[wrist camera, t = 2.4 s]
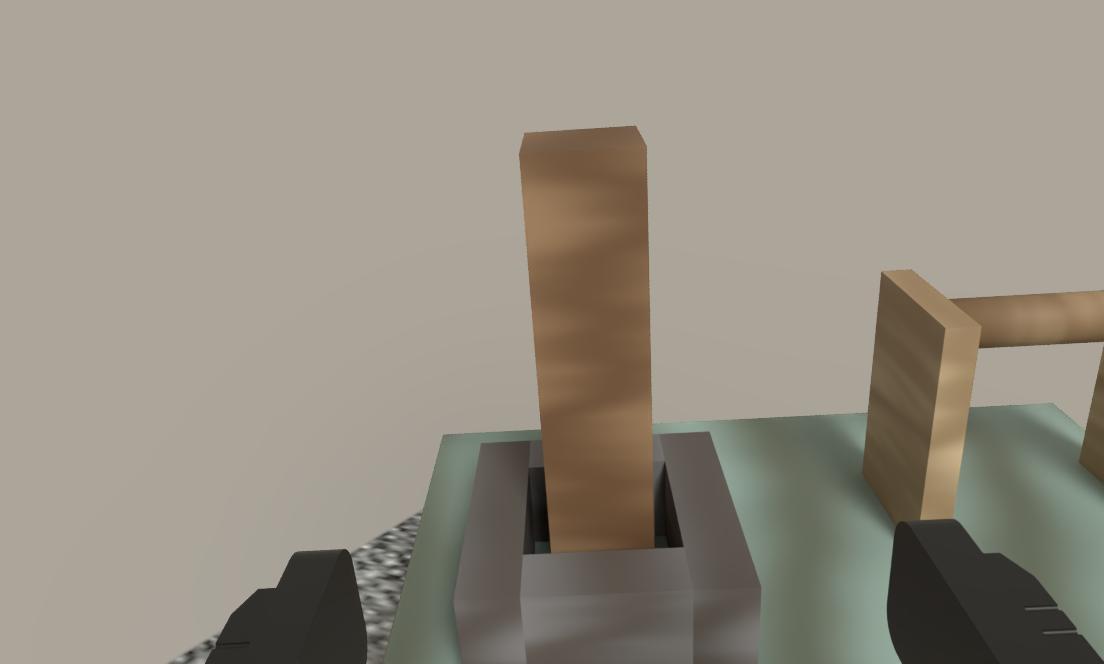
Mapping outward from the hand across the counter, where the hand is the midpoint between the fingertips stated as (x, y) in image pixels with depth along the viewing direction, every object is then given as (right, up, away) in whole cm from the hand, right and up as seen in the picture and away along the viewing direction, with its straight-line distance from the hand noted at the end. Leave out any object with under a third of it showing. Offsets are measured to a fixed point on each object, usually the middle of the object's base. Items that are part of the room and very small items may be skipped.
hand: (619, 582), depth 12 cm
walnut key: (+1, -4, +14) cm, 15 cm away
